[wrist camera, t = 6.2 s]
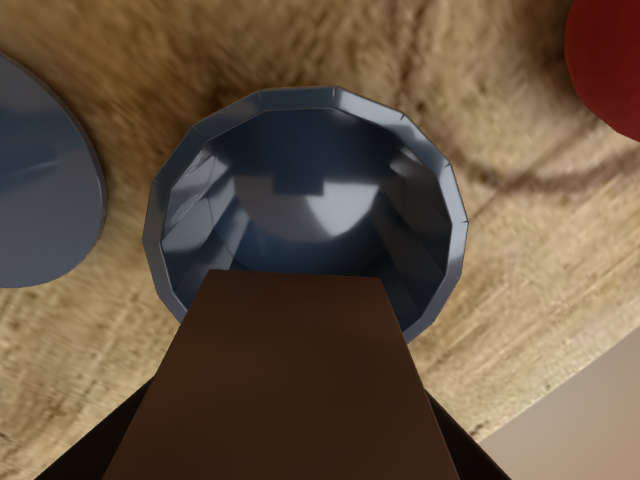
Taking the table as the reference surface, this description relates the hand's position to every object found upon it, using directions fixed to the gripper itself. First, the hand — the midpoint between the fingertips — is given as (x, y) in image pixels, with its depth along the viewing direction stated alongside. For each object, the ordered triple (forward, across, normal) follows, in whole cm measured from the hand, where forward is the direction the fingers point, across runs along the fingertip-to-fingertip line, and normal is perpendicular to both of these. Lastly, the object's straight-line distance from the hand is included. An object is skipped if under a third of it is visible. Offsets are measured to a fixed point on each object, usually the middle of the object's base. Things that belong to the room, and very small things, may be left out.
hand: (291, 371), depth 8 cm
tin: (+11, 0, 0) cm, 11 cm away
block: (+1, 0, 0) cm, 1 cm away
